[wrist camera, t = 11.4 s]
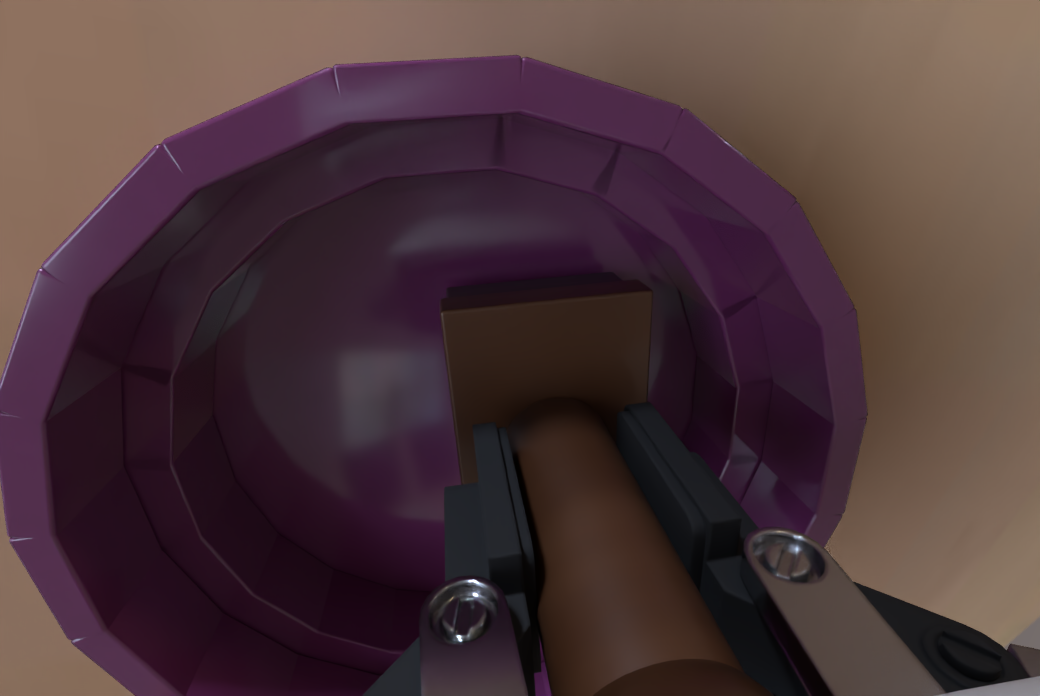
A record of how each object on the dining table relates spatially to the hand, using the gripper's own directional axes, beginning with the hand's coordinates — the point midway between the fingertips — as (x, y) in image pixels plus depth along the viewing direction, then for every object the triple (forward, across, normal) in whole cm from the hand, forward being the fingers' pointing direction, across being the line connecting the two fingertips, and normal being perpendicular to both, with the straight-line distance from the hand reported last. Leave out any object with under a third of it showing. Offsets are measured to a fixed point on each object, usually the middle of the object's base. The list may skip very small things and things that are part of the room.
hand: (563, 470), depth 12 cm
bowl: (+5, +2, 0) cm, 5 cm away
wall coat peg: (+3, 0, 0) cm, 3 cm away
